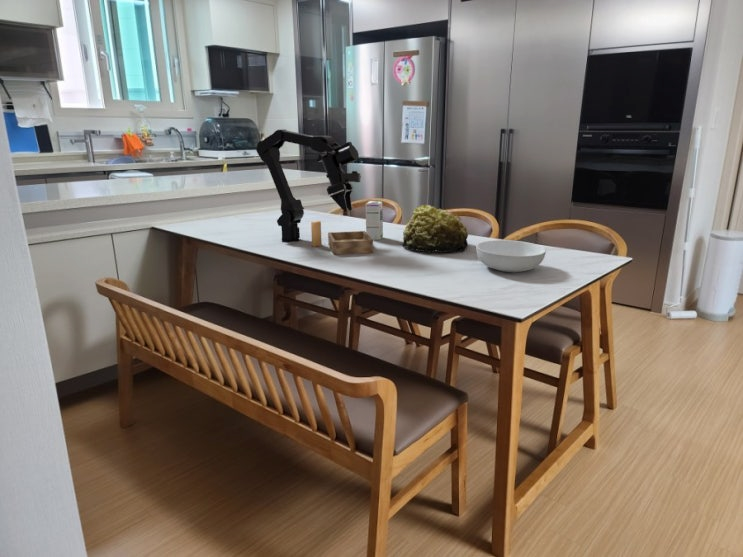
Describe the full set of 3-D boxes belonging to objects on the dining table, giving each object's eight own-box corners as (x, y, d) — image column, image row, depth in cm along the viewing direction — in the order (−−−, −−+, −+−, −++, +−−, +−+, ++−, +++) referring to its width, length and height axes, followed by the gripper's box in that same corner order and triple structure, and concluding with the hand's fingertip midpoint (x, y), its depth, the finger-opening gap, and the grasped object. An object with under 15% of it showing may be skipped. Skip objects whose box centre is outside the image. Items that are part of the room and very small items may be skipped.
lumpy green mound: (390, 243, 196) (390, 202, 191) (446, 238, 204) (447, 198, 200) (420, 258, 174) (421, 212, 169) (481, 251, 182) (484, 207, 178)
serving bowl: (502, 281, 147) (504, 258, 145) (462, 264, 165) (463, 243, 163) (559, 273, 155) (561, 251, 153) (514, 257, 173) (516, 237, 171)
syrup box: (380, 240, 200) (380, 203, 196) (365, 239, 201) (365, 202, 197) (383, 237, 206) (383, 201, 201) (368, 236, 207) (368, 200, 203)
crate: (333, 254, 178) (333, 242, 177) (328, 244, 194) (328, 232, 193) (372, 252, 180) (372, 240, 179) (364, 242, 197) (364, 230, 195)
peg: (312, 246, 190) (311, 222, 187) (311, 244, 193) (310, 221, 191) (322, 246, 191) (321, 222, 188) (321, 244, 194) (320, 220, 191)
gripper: (349, 160, 175) (365, 204, 176) (358, 163, 193) (372, 202, 195) (319, 172, 177) (335, 215, 179) (331, 173, 195) (345, 212, 197)
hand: (348, 210), depth 187 cm, fingers open, 9 cm apart
